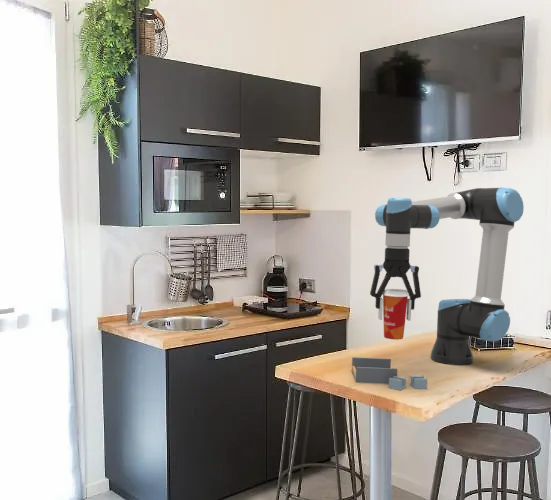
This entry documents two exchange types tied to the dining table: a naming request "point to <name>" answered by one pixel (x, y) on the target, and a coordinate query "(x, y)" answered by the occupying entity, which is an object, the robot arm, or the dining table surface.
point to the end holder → (372, 370)
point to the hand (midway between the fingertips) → (394, 319)
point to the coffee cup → (394, 312)
